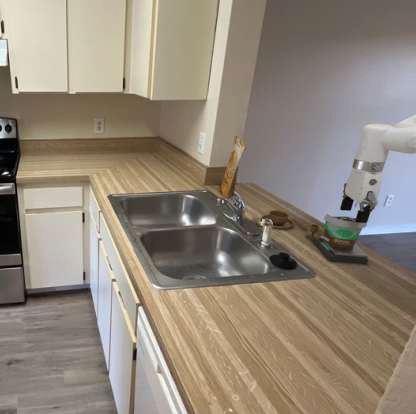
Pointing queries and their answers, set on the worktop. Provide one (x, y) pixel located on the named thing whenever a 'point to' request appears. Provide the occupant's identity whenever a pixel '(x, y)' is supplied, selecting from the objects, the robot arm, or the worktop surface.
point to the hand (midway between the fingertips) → (352, 216)
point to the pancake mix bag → (232, 168)
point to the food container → (341, 231)
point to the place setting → (282, 218)
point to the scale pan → (346, 250)
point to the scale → (338, 258)
